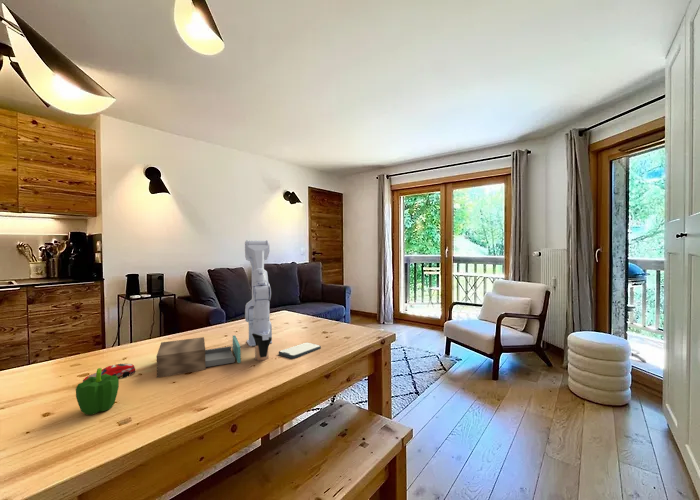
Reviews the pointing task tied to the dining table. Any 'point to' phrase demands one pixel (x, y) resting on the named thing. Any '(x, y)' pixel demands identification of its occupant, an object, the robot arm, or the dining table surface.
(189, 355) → the spice box
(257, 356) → the brown round cylinder
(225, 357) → the drawer
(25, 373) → the dining table surface
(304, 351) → the phone case
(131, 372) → the race car
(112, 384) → the bell pepper
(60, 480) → the dining table surface
